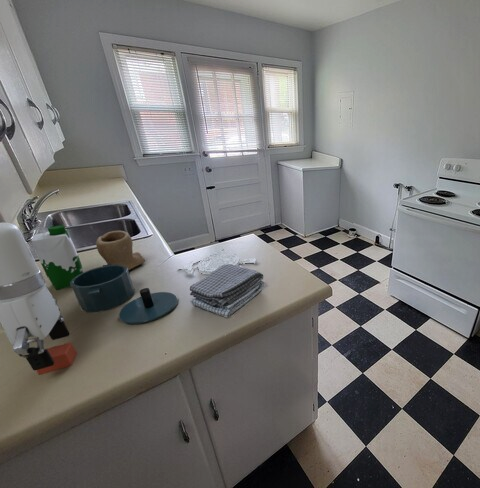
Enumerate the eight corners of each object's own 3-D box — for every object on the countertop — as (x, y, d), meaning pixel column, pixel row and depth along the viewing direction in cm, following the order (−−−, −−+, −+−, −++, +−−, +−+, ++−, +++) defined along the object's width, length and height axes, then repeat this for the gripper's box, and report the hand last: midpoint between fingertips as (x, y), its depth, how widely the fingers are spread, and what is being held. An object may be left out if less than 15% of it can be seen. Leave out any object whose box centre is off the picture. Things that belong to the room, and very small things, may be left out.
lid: (115, 332, 71) (107, 311, 68) (124, 302, 83) (117, 284, 80) (178, 315, 77) (172, 296, 74) (177, 290, 89) (173, 273, 86)
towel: (266, 288, 90) (264, 267, 87) (225, 320, 75) (220, 297, 72) (232, 278, 96) (229, 258, 93) (188, 305, 81) (182, 283, 78)
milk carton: (87, 283, 93) (65, 229, 85) (51, 292, 88) (24, 235, 80) (87, 273, 100) (66, 222, 92) (53, 281, 94) (28, 228, 86)
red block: (38, 374, 59) (32, 362, 57) (46, 361, 62) (39, 350, 61) (71, 365, 61) (65, 353, 60) (76, 353, 64) (71, 342, 63)
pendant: (217, 248, 120) (216, 245, 120) (265, 262, 107) (264, 259, 107) (171, 267, 103) (171, 264, 103) (222, 287, 90) (221, 284, 90)
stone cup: (115, 281, 94) (101, 242, 88) (95, 274, 99) (80, 236, 93) (155, 263, 107) (145, 227, 101) (136, 258, 111) (125, 223, 105)
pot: (71, 323, 74) (59, 297, 71) (89, 289, 90) (80, 266, 86) (130, 309, 80) (121, 284, 76) (138, 279, 95) (131, 258, 92)
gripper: (13, 271, 59) (46, 332, 65) (-39, 315, 44) (10, 388, 51) (58, 263, 62) (85, 323, 69) (22, 302, 48) (61, 373, 54)
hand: (53, 351), depth 60 cm, fingers open, 9 cm apart
